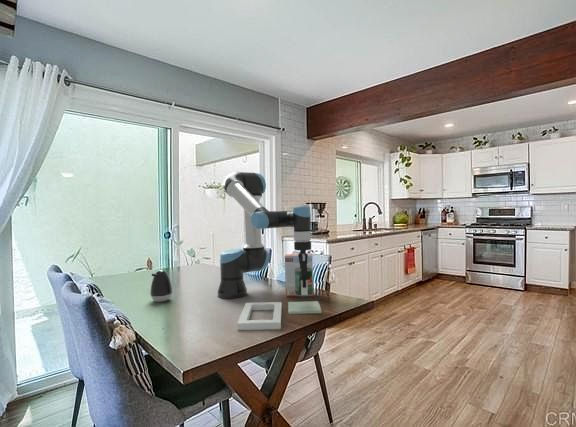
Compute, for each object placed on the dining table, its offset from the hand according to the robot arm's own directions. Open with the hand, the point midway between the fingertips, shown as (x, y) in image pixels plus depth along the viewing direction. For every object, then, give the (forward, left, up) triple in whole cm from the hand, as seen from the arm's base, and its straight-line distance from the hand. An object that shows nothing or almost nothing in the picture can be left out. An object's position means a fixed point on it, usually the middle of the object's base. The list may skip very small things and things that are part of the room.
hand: (303, 292), depth 142 cm
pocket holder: (-18, -11, -7) cm, 22 cm away
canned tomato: (0, 0, -1) cm, 1 cm away
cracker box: (-1, +22, -7) cm, 23 cm away
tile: (0, 0, -7) cm, 7 cm away
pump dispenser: (-70, +18, -7) cm, 73 cm away
